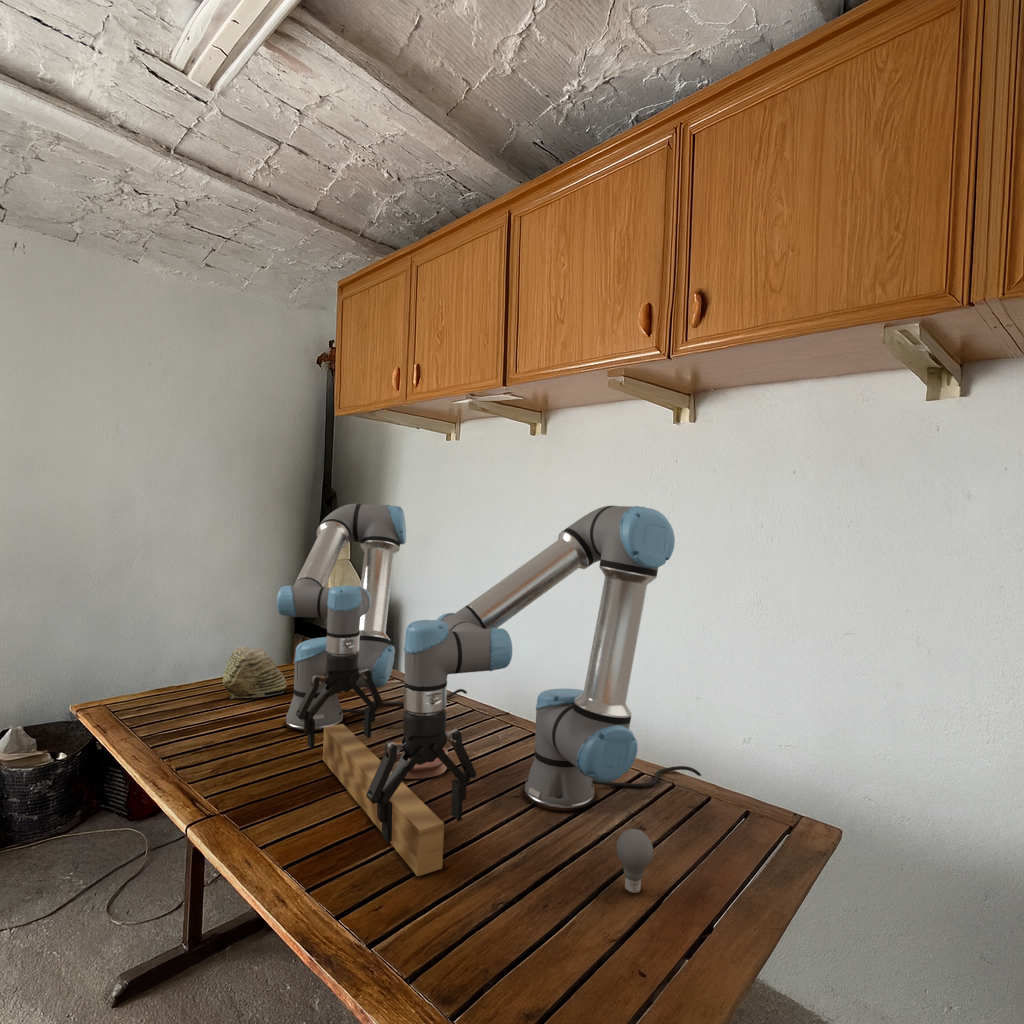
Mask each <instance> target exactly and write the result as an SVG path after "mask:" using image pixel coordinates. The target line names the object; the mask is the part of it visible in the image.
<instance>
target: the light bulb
mask: <svg viewBox="0 0 1024 1024" xmlns="http://www.w3.org/2000/svg"><path fill="white" fill-rule="evenodd" d="M615 849H616V854H617V857H618V859H619V861H620V863H621V865H622V867H623V873H624V874H623V875H624V876H625V878H624V888H625V890H627V891H628V892H630V893H634V894H635V893H639V892H640V891H641V889H642V887H641V886H642V879H643V877H644V875H645V871H646V868H647V867H648V866H649V864H650V863H651V861H652V859H653V855H654V847H653V843H652V841H651V838H649V836H648V835H647V834H646V833H645V832H643V831H642V830H641V829H636V828H629V829H627V830H625V831H623V832H622V833H621V834H620V835H619V837H618V839H617V841H616V847H615Z"/></svg>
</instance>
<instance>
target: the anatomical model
mask: <svg viewBox="0 0 1024 1024" xmlns="http://www.w3.org/2000/svg"><path fill="white" fill-rule="evenodd" d="M442 750H443V751H444V752H445V753H446V754H447V755H448V756H449V753H448V752H449V751H448V749H447V748H446V747H443V749H442ZM409 760H410V759H408V762H409ZM398 763H399V760H398V761H395V763H394V766H393V768H392V770H391V771H392V772H393V770H394V769H395V767H396V766H397V764H398ZM447 770H448V768H447V767H446V766H445V765H444V764H443V763H442V762H441V761H440V759H439V758H438V757H437V758H436V759H435V760H434V762H426V763H424V764H421V765H418V764H416V765H415V766H414V767H413V769H412V770H410V771H409V772H408V773H407V775H406V776H405V778H404V779H405V780H417V779H428V778H433V777H436V776H440V775H442V774H444V773H446V771H447ZM404 779H403V780H404Z"/></svg>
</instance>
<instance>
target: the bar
mask: <svg viewBox="0 0 1024 1024" xmlns="http://www.w3.org/2000/svg"><path fill="white" fill-rule="evenodd" d="M322 746H323V748H322V761H323V762H324V763H325V765H326V766H327V767H328V769H329V770H330V771H331V772H332V773H333V775H334V776H335V777H336V778H337V780H338V781H339V782H340V783H341V784H342V786H343V787H344V788H345V790H346V791H347V792H348V793H349V794H350V795H351V797H352V798H353V799H354V801H355V802H356V803H357V804H358V806H360V808H361V809H362V810H363V812H364V813H365V814H366V815H367V816H368V818H369V819H370V820H371V821H372V823H373V824H374V825H375V826H376V828H377V829H378V830H379V831H380V833H382V823H381V822H380V821H379V820H378V818H377V803H375V804H373V803H372V802H371V801H370V800H369V799H368V798H367V796H366V794H367V792H368V789H369V787H370V785H371V783H372V781H373V778H374V776H375V774H376V772H377V769H378V767H379V765H380V763H381V761H382V760H381V759H380V758H378V756H377V755H375V754H374V753H373V752H372V750H371V749H370V748H369V747H367V746H366V745H365V744H364V743H363V741H361V739H359V738H358V736H356V735H355V734H354V733H353V732H352V731H351V730H350V729H349V728H348V727H347V726H346V725H345V724H344V723H341V724H340V725H333V726H327V727H324V731H323V743H322ZM391 773H392V771H391V772H390V774H391ZM389 776H390V775H389ZM389 801H390V802H391V803H392V841H391V842H389V844H390V845H391V846H392V847H393V848H394V850H395V851H396V852H397V853H398V854H399V856H400V857H401V859H402V860H403V861H404V862H405V863H406V865H407V866H408V867H409V868H410V869H411V870H412V872H413V873H414V875H415V876H416V877H421V876H423V875H427V874H430V873H433V872H437V871H439V870H442V869H443V864H444V863H443V862H444V861H443V860H444V859H443V858H444V841H445V840H444V837H445V836H444V834H445V822H443V820H442V819H441V818H440V817H438V815H436V813H435V812H433V810H431V808H429V806H428V805H426V804H425V803H424V802H423V801H422V800H421V799H420V797H418V796H417V795H416V794H415V793H414V792H413V791H412V790H411V789H410V788H409V787H408V786H407V785H406V784H405V783H404V782H403V781H402V782H401V784H400V785H399V787H398V788H397V790H396V791H395V792H394V794H393V795H392V797H391V798H390V800H389Z"/></svg>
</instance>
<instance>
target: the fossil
mask: <svg viewBox="0 0 1024 1024" xmlns="http://www.w3.org/2000/svg"><path fill="white" fill-rule="evenodd" d="M222 676H223V677H222V685H223V687H224V688H225V690H226V691H228V693H229V698H230V699H250V698H264V697H271V696H275V695H281V694H284V693H285V691H286V689H287V687H288V686H287V680H286V678H285V676H284V674H283V673H282V672H281V669H279V668H278V667H277V665H276V663H275V662H274V660H273V659H272V658H271V657H270V656H269V655H268V654H267V653H266V652H265V650H264V649H263V648H260V647H258V648H251V647H247V646H246V647H245V646H238V647H237V648H236V649H235V650H233V651H232V653H231V656H230V657H229V659H228V660H227V663H226V666H225V668H224V671H223V675H222Z"/></svg>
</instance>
